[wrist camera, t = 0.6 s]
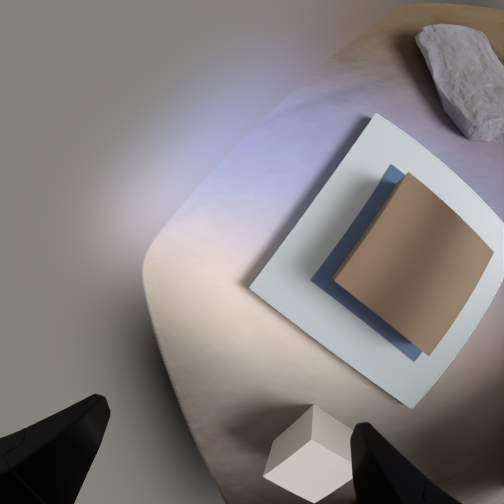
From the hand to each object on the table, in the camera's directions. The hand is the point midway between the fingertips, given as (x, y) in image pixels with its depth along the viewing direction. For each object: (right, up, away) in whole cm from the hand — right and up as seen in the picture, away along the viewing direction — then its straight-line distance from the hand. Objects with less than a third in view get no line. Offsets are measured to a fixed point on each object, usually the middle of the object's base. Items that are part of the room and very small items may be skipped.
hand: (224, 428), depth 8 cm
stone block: (+21, +21, +9) cm, 31 cm away
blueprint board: (+12, +5, +10) cm, 16 cm away
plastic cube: (+6, -9, +11) cm, 16 cm away
